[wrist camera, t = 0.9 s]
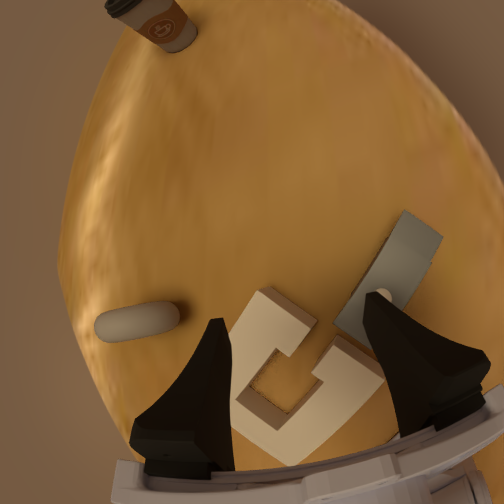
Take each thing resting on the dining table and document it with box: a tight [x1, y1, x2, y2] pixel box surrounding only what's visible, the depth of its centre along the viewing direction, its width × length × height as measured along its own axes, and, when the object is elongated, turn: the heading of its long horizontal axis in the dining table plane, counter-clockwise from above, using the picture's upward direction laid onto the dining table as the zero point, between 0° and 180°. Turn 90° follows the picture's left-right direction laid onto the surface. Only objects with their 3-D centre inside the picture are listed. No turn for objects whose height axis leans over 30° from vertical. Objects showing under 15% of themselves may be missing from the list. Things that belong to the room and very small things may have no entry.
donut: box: [94, 301, 180, 343], centre depth 28 cm, size 10×4×10 cm, turn 106°
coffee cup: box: [105, 0, 197, 53], centre depth 28 cm, size 8×8×15 cm
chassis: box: [228, 287, 385, 467], centre depth 25 cm, size 14×14×4 cm
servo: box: [333, 209, 443, 350], centre depth 21 cm, size 4×11×6 cm, turn 147°
